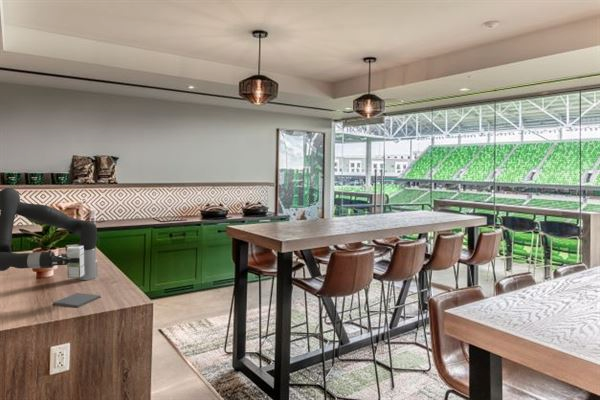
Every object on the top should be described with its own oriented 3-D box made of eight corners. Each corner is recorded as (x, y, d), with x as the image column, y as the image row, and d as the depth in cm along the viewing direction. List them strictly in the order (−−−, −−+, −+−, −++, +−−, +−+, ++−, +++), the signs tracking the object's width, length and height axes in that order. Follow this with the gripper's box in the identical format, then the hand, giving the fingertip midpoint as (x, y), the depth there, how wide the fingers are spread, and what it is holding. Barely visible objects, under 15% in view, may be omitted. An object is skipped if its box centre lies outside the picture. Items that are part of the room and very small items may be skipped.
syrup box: (84, 274, 187) (84, 245, 186) (80, 277, 182) (79, 247, 180) (72, 274, 186) (71, 245, 185) (67, 278, 180) (66, 247, 179)
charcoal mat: (77, 294, 193) (77, 292, 193) (100, 297, 190) (100, 295, 190) (53, 304, 180) (53, 302, 180) (78, 307, 177) (78, 305, 176)
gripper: (35, 255, 172) (77, 254, 177) (46, 248, 186) (85, 247, 190) (35, 272, 173) (77, 270, 177) (47, 264, 186) (85, 262, 191)
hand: (81, 258), depth 184 cm, fingers closed on syrup box, 6 cm apart
